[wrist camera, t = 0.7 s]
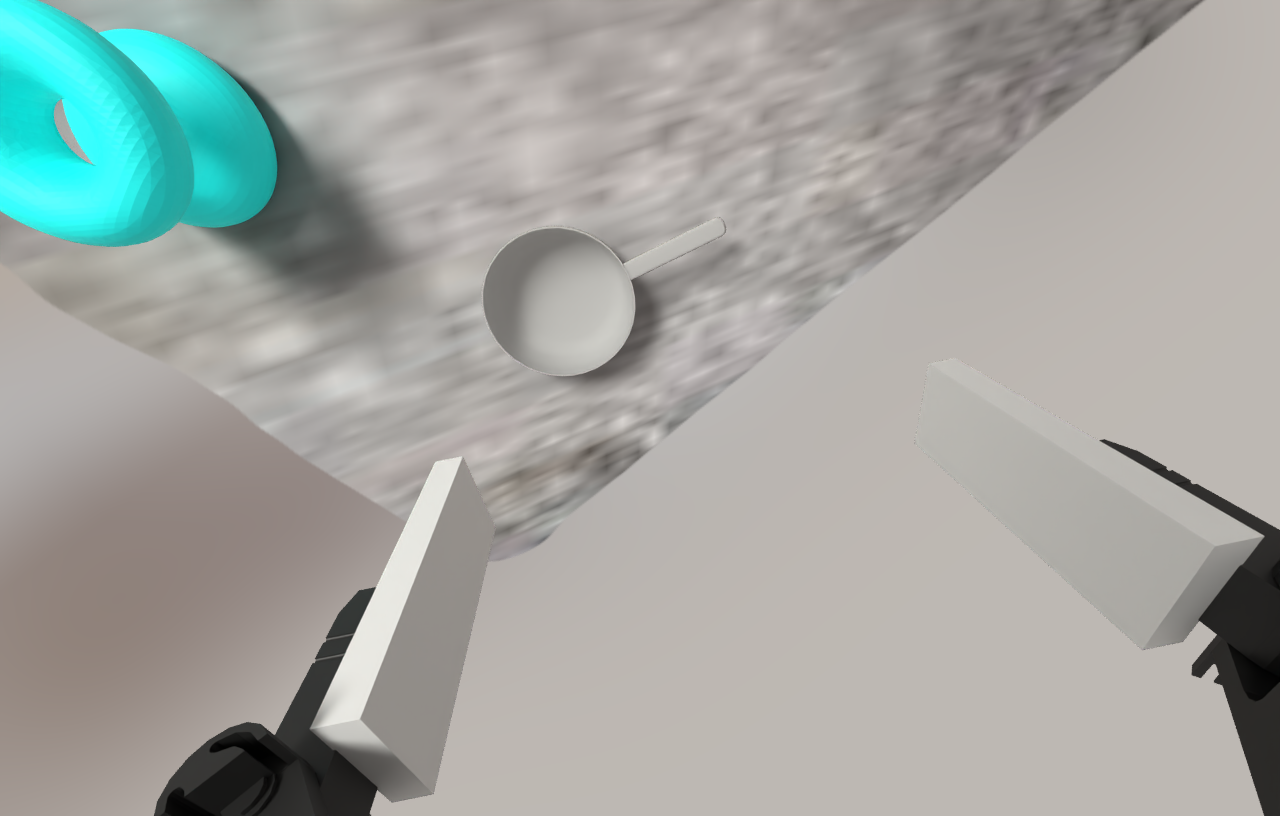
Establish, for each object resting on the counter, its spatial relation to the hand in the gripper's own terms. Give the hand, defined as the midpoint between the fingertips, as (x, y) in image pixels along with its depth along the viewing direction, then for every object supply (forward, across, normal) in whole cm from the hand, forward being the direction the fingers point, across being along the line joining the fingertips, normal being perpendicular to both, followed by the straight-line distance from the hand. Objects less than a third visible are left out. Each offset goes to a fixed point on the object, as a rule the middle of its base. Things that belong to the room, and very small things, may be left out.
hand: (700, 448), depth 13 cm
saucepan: (+25, -2, -1) cm, 25 cm away
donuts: (+25, -25, +12) cm, 38 cm away
